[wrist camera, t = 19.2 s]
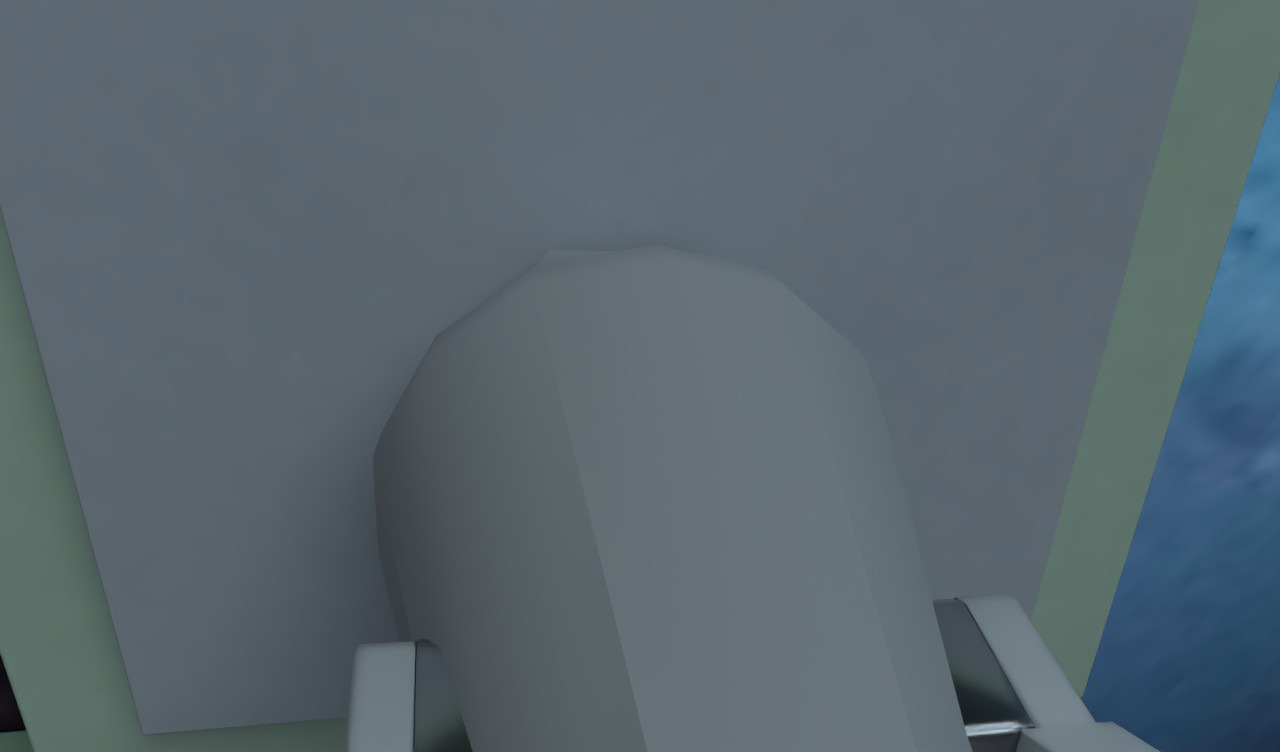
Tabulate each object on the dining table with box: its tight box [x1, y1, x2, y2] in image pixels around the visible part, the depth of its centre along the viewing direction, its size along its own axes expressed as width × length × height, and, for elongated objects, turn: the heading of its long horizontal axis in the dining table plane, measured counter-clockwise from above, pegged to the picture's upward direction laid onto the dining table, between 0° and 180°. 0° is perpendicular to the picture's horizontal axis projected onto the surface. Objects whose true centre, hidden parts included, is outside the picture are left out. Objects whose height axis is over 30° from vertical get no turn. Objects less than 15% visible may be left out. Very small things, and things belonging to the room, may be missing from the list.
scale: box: [0, 0, 1280, 752], centre depth 17 cm, size 18×16×4 cm
